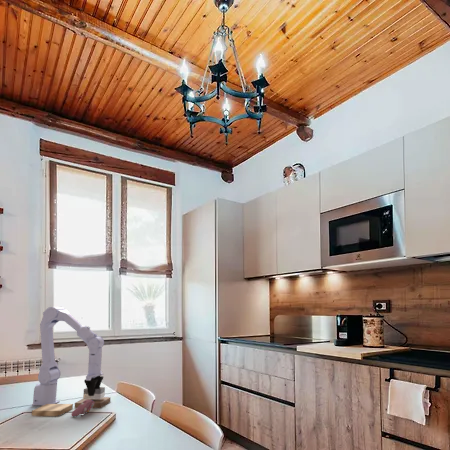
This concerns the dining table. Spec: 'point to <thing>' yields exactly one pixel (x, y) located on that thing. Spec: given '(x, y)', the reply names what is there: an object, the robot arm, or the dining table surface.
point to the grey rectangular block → (95, 393)
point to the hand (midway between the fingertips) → (93, 394)
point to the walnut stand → (98, 402)
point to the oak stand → (52, 409)
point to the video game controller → (83, 407)
